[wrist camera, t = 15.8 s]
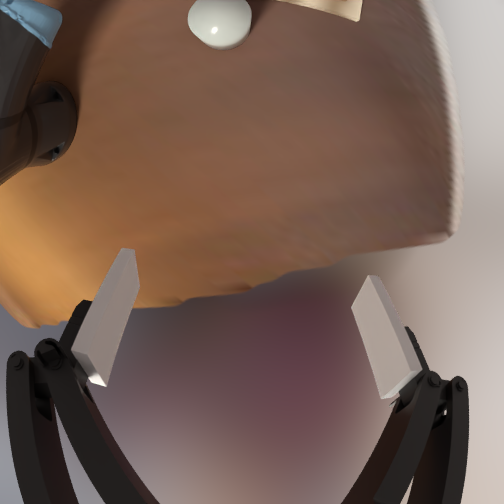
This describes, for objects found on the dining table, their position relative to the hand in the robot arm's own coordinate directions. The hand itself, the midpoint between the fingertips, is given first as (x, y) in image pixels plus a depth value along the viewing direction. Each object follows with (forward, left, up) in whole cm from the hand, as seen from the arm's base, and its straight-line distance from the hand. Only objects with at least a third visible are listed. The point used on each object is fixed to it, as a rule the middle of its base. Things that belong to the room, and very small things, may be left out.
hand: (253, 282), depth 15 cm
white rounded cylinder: (-6, +18, -29) cm, 34 cm away
